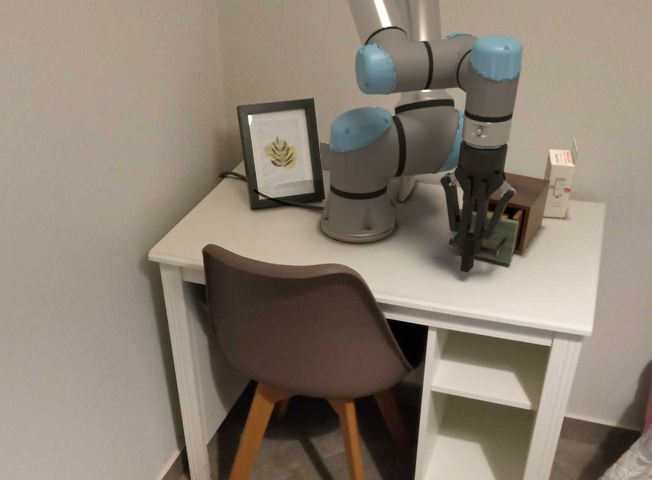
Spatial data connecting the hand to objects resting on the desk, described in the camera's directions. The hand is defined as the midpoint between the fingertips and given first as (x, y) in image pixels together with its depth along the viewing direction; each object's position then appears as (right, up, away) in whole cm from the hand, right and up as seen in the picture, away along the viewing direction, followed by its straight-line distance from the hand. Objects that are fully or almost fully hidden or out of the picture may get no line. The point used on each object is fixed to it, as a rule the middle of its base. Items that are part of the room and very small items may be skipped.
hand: (466, 268), depth 128 cm
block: (+7, +7, +9) cm, 13 cm away
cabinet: (+10, +9, +15) cm, 21 cm away
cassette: (-6, +21, +33) cm, 39 cm away
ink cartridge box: (+24, +15, +24) cm, 37 cm away
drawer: (+6, +4, +8) cm, 11 cm away
